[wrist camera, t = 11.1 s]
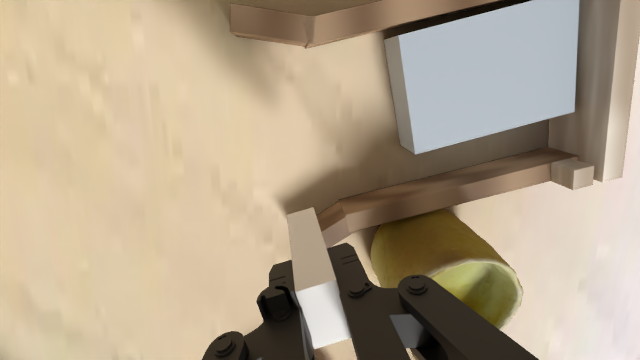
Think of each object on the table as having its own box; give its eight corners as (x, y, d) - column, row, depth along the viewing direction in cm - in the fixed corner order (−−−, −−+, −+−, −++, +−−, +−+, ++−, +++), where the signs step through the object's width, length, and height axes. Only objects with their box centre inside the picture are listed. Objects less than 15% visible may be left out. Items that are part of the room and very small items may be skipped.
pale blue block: (398, 143, 26) (415, 154, 22) (382, 40, 23) (398, 35, 20) (537, 106, 26) (574, 111, 23) (538, -1, 23) (580, -13, 20)
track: (297, 244, 27) (299, 280, 23) (230, 14, 21) (214, -3, 16) (563, 176, 28) (619, 197, 23) (575, -68, 22) (656, -105, 17)
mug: (374, 182, 24) (465, 287, 16) (464, 189, 29) (567, 274, 21) (324, 289, 30) (375, 404, 22) (406, 281, 34) (472, 373, 27)
